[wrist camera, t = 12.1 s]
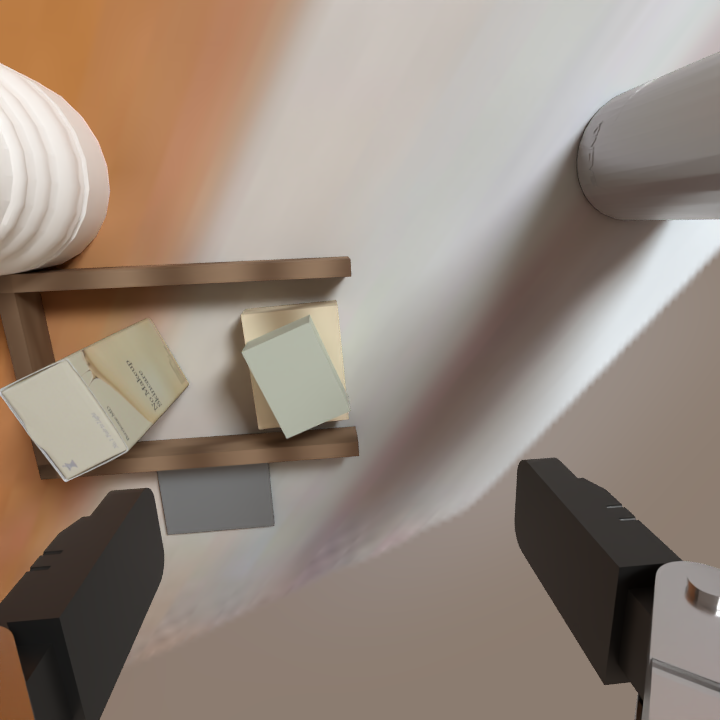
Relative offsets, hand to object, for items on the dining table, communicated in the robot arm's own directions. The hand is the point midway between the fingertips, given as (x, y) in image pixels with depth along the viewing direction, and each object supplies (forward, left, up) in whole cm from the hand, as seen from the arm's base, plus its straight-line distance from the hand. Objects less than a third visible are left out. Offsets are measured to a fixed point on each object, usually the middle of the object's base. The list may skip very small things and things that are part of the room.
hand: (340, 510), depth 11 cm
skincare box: (+14, +4, -28) cm, 32 cm away
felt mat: (+10, +16, -28) cm, 34 cm away
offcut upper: (+2, +4, -26) cm, 26 cm away
